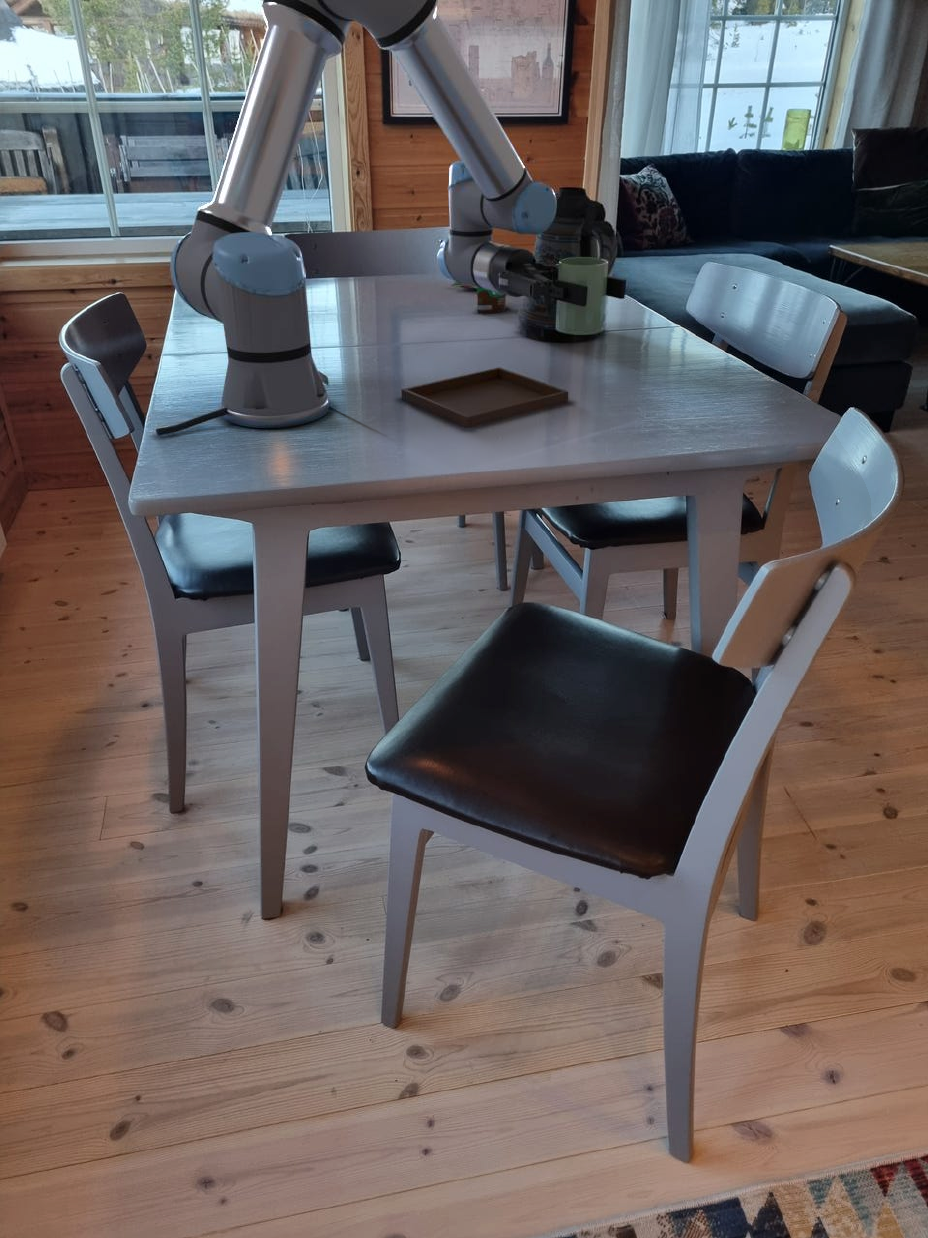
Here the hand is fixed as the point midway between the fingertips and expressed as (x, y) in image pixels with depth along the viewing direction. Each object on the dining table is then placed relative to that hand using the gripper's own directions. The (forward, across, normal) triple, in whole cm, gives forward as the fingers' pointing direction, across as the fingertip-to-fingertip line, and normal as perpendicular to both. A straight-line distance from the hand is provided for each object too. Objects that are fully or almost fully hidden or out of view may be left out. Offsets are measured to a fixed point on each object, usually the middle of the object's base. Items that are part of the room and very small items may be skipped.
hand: (604, 292), depth 131 cm
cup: (-5, 0, -6) cm, 8 cm away
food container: (-52, -22, -14) cm, 58 cm away
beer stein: (-28, -20, -14) cm, 37 cm away
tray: (-5, +19, -14) cm, 24 cm away
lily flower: (-72, -32, -15) cm, 80 cm away
